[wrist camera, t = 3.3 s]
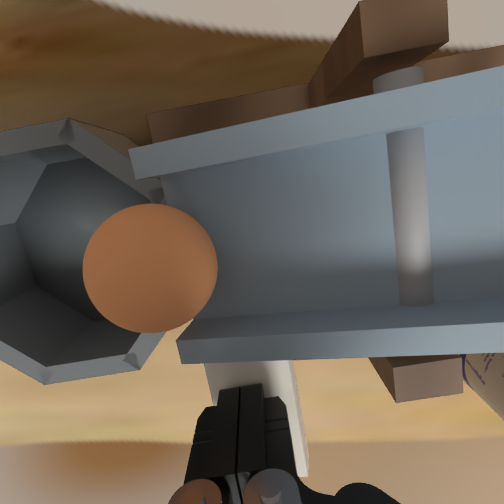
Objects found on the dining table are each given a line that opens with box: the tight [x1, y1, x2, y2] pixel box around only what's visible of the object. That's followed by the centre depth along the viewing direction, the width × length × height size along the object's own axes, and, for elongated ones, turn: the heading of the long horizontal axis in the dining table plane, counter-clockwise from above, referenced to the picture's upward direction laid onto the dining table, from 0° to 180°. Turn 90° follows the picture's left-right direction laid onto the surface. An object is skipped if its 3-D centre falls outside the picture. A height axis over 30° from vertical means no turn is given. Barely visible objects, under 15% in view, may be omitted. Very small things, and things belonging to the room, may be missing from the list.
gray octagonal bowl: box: [0, 118, 167, 385], centre depth 15 cm, size 10×10×5 cm
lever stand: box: [146, 0, 504, 403], centre depth 13 cm, size 17×11×9 cm, turn 100°
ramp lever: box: [128, 65, 504, 477], centre depth 10 cm, size 14×13×5 cm
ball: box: [83, 204, 218, 333], centre depth 9 cm, size 4×4×4 cm
